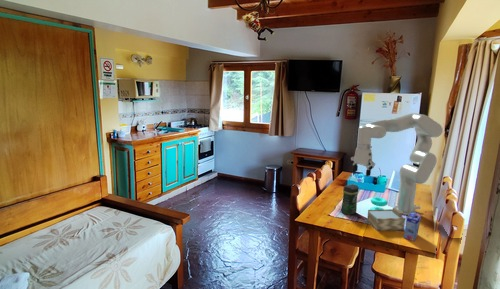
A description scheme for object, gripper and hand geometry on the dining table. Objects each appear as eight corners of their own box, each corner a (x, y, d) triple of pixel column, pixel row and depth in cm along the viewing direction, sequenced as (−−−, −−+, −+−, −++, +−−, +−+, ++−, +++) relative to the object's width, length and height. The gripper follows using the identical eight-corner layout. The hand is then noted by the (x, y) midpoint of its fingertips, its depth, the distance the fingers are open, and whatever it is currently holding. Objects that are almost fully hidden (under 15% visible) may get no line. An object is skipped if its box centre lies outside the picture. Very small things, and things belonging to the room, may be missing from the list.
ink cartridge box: (414, 241, 159) (418, 216, 156) (403, 238, 162) (406, 213, 159) (418, 234, 166) (422, 210, 163) (407, 231, 169) (410, 207, 166)
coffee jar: (349, 216, 187) (352, 188, 184) (339, 211, 194) (341, 184, 190) (358, 212, 193) (361, 185, 189) (348, 208, 199) (350, 182, 195)
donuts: (390, 202, 185) (374, 202, 185) (389, 217, 187) (373, 217, 187) (383, 196, 195) (368, 196, 195) (382, 210, 197) (366, 210, 197)
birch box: (392, 220, 183) (393, 209, 181) (403, 230, 171) (405, 218, 169) (367, 221, 181) (368, 209, 180) (376, 230, 169) (378, 218, 168)
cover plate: (394, 212, 181) (394, 206, 180) (404, 219, 170) (404, 214, 170) (368, 212, 179) (369, 207, 178) (377, 220, 169) (377, 214, 168)
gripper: (380, 148, 173) (377, 176, 177) (356, 143, 188) (354, 169, 192) (371, 149, 170) (369, 178, 173) (348, 144, 184) (346, 170, 188)
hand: (361, 173), depth 182 cm, fingers open, 9 cm apart
